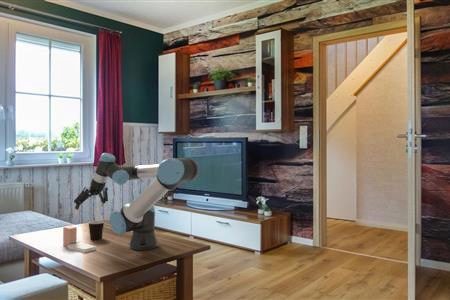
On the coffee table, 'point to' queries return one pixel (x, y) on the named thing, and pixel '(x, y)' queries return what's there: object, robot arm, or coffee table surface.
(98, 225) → the coffee mug
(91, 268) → the coffee table surface
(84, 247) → the pad
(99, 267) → the coffee table surface
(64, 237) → the stub
